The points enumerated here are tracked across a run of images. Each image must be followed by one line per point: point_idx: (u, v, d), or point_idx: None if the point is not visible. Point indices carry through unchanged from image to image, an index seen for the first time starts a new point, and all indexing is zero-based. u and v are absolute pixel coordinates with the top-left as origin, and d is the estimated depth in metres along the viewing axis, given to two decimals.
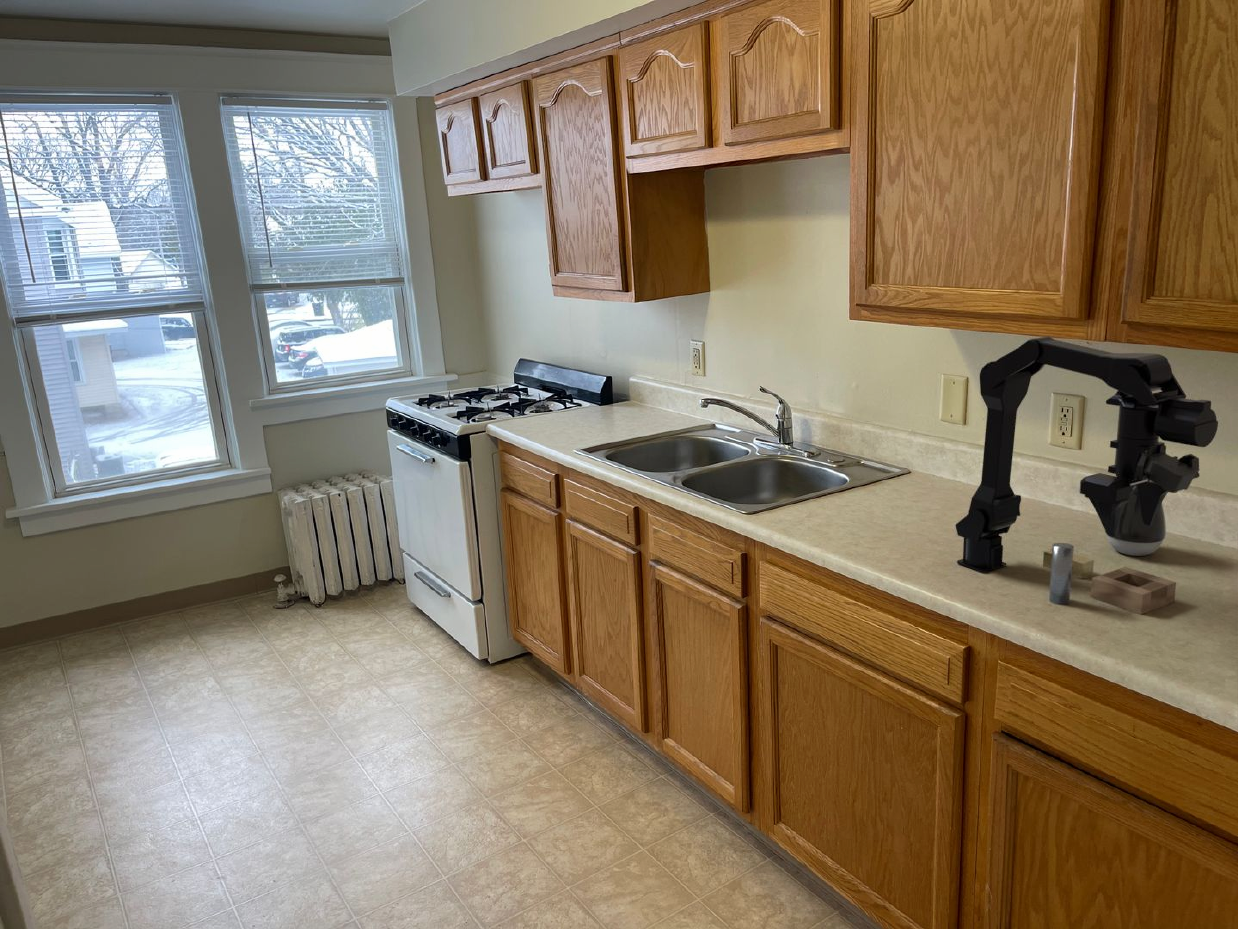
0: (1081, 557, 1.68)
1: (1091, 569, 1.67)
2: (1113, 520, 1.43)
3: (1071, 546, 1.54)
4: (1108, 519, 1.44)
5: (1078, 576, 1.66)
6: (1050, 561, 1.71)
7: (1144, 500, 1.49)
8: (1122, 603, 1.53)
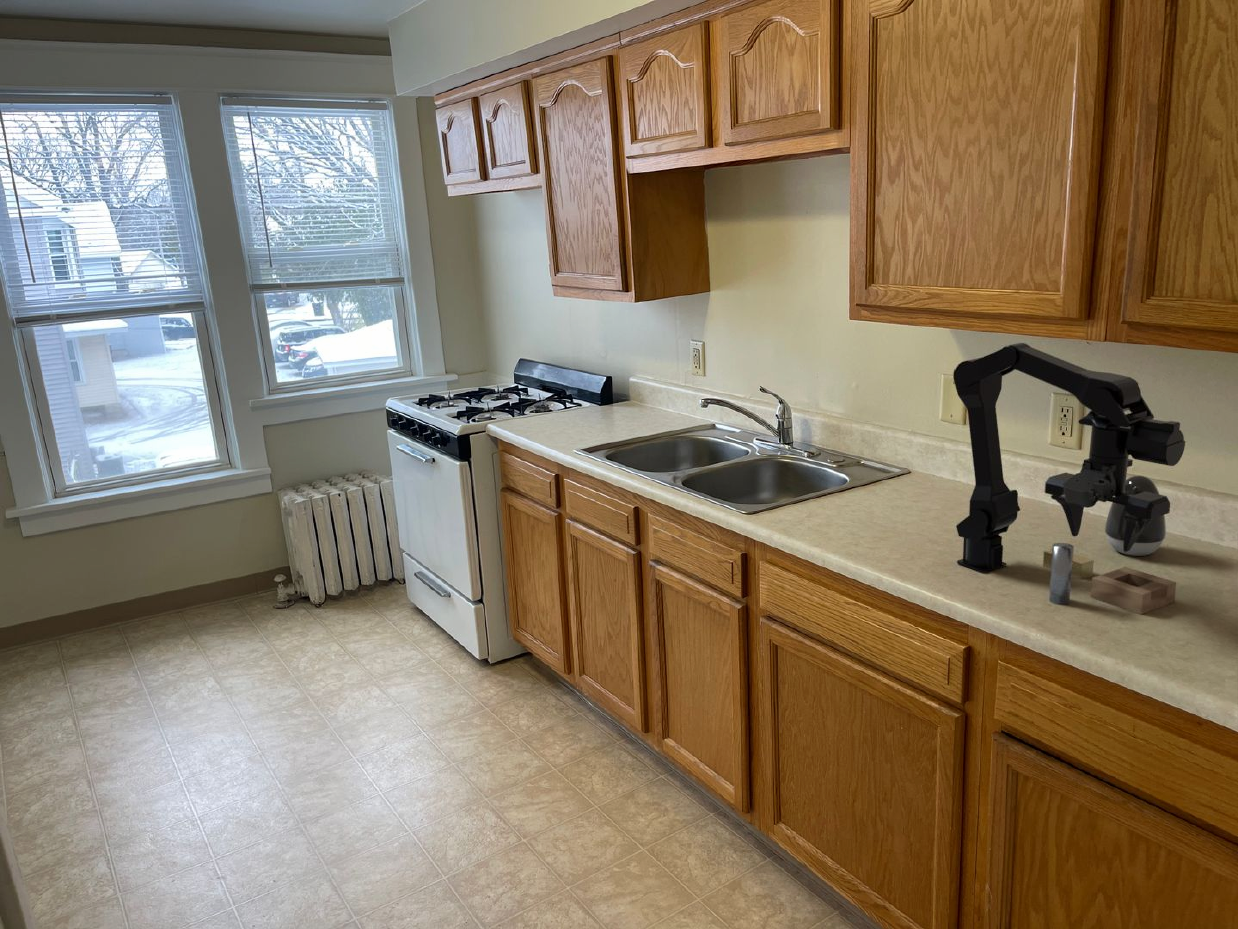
0: (1081, 557, 1.68)
1: (1091, 569, 1.67)
2: (1067, 518, 1.58)
3: (1071, 546, 1.54)
4: None
5: (1078, 576, 1.66)
6: (1050, 561, 1.71)
7: None
8: (1122, 603, 1.53)
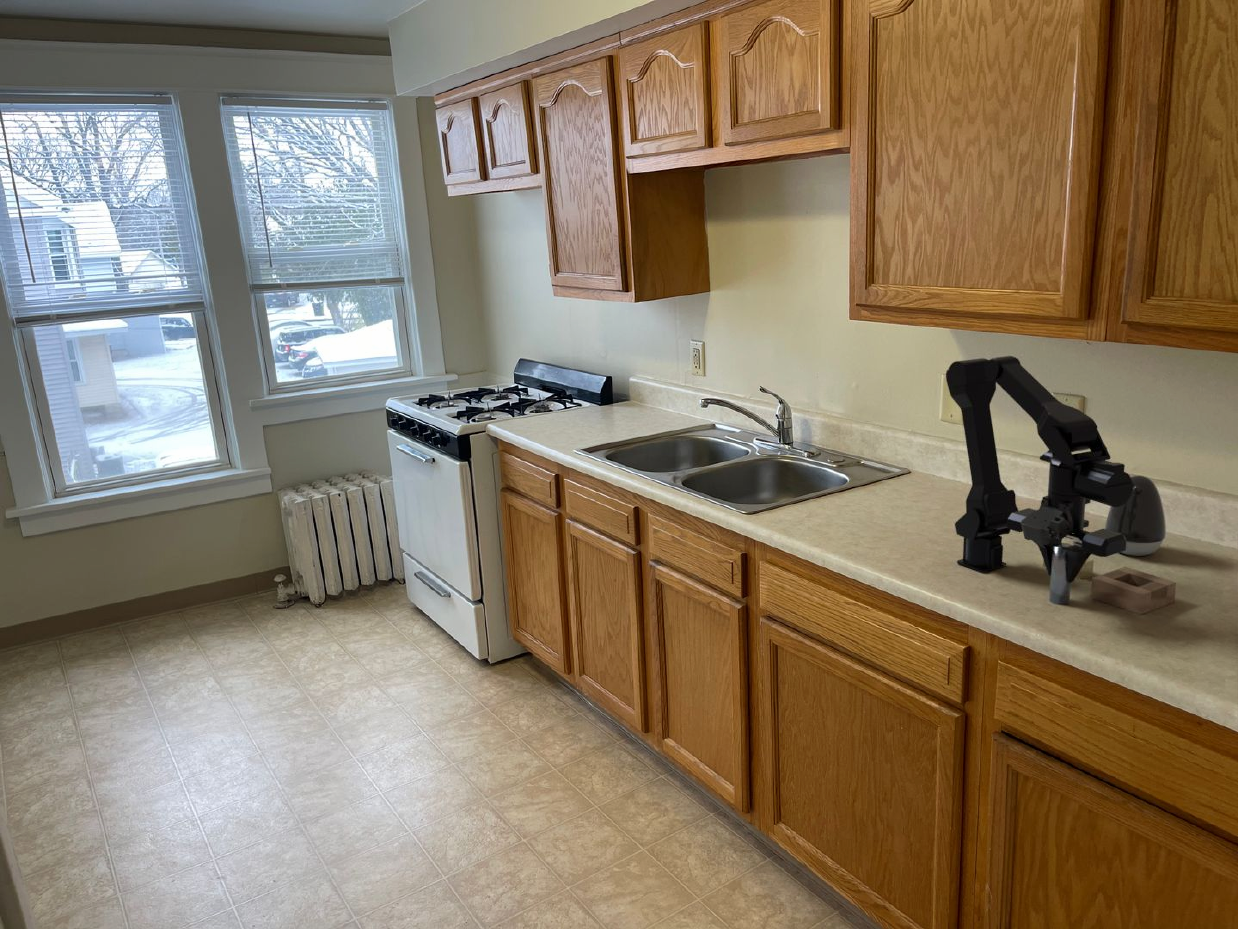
0: None
1: (1091, 569, 1.66)
2: (1043, 558, 1.57)
3: None
4: None
5: (1077, 576, 1.66)
6: None
7: None
8: (1122, 603, 1.53)
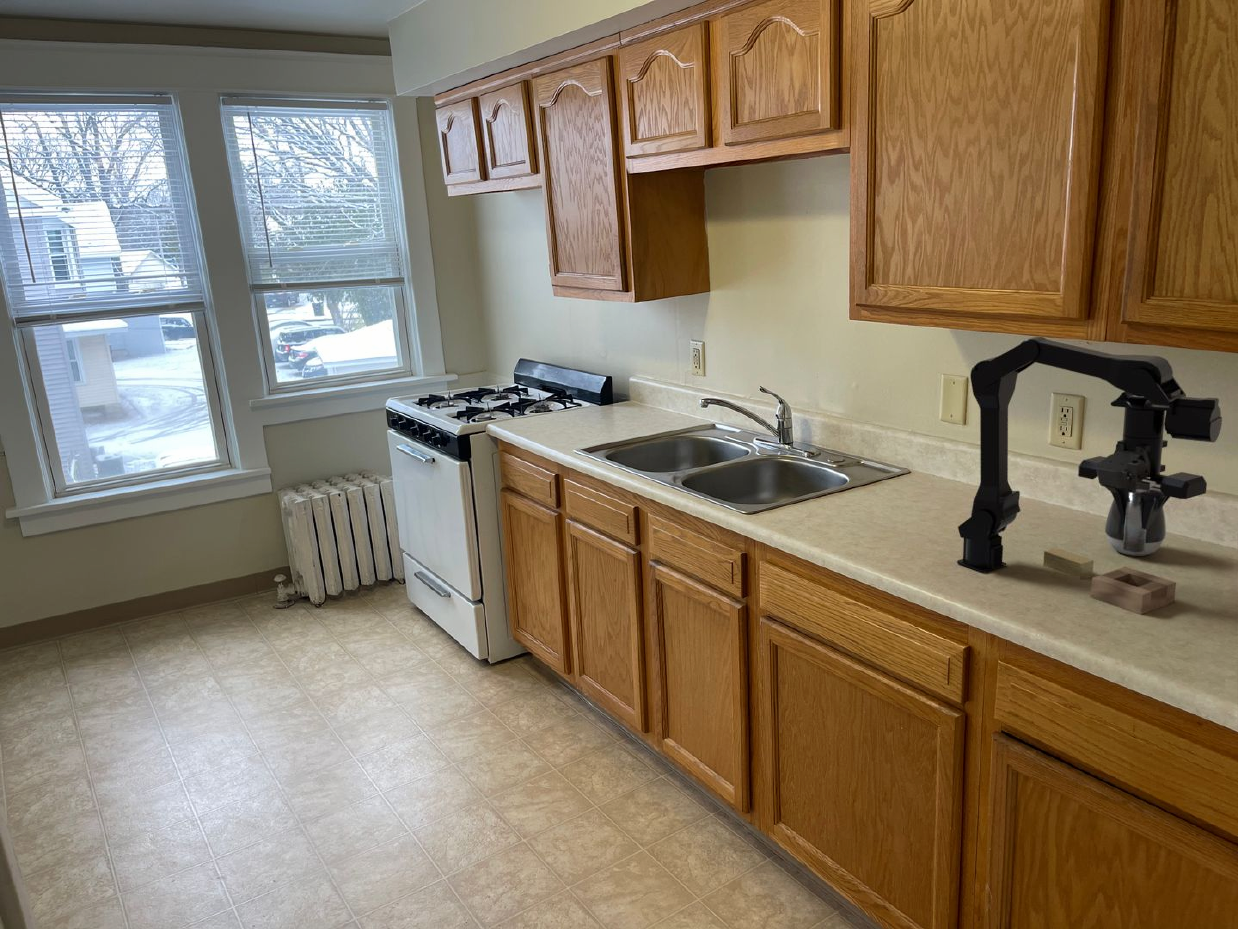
0: (1081, 557, 1.68)
1: (1090, 569, 1.66)
2: (1117, 505, 1.54)
3: None
4: None
5: (1077, 576, 1.66)
6: (1050, 561, 1.71)
7: None
8: (1122, 603, 1.53)
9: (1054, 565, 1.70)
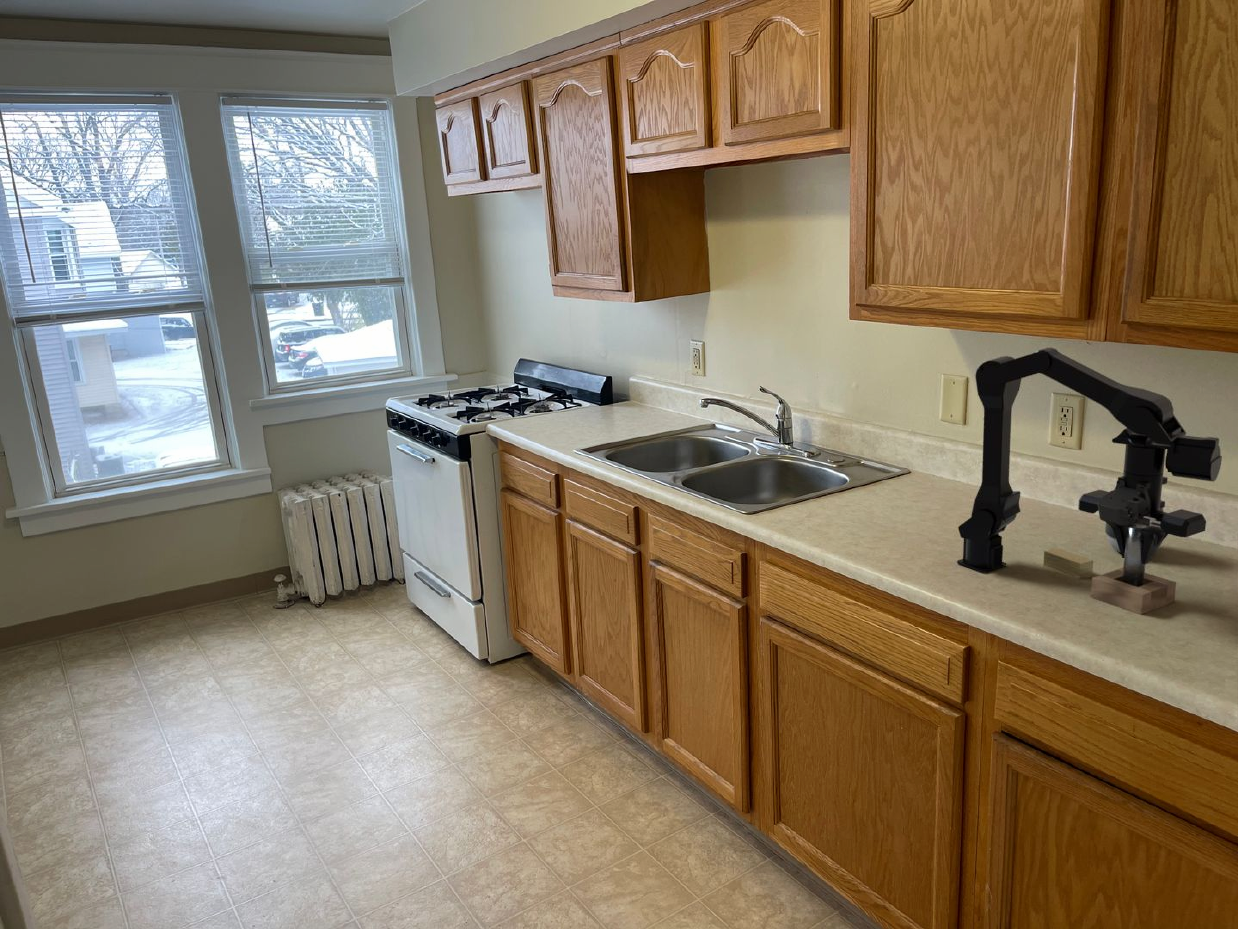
0: (1081, 557, 1.68)
1: (1090, 569, 1.66)
2: (1117, 540, 1.56)
3: None
4: None
5: (1076, 576, 1.66)
6: (1050, 561, 1.71)
7: None
8: (1122, 603, 1.53)
9: (1054, 565, 1.70)
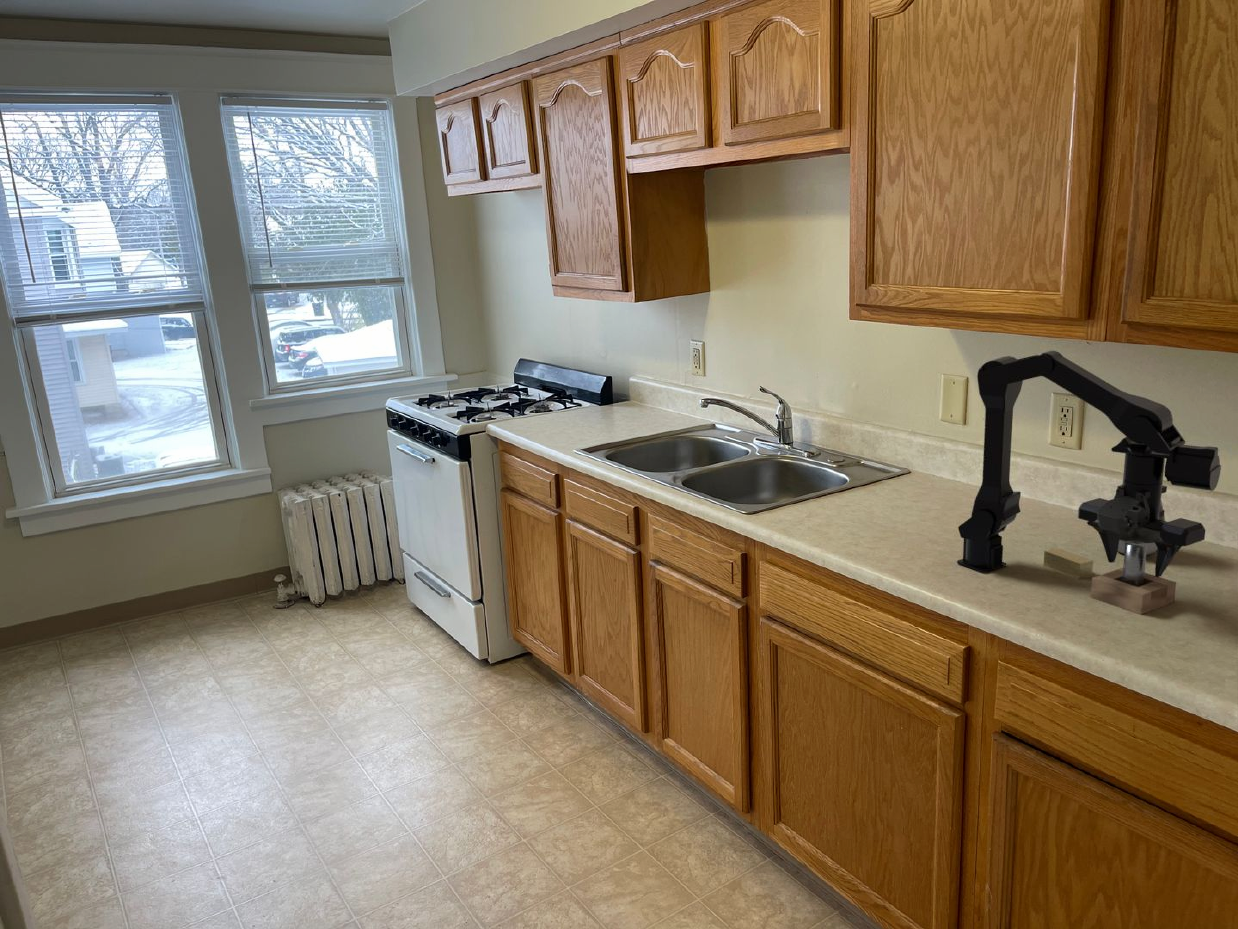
0: (1081, 557, 1.68)
1: (1090, 570, 1.66)
2: (1103, 544, 1.58)
3: (1144, 544, 1.53)
4: None
5: (1076, 576, 1.66)
6: (1050, 561, 1.71)
7: None
8: (1122, 603, 1.53)
9: (1054, 565, 1.70)
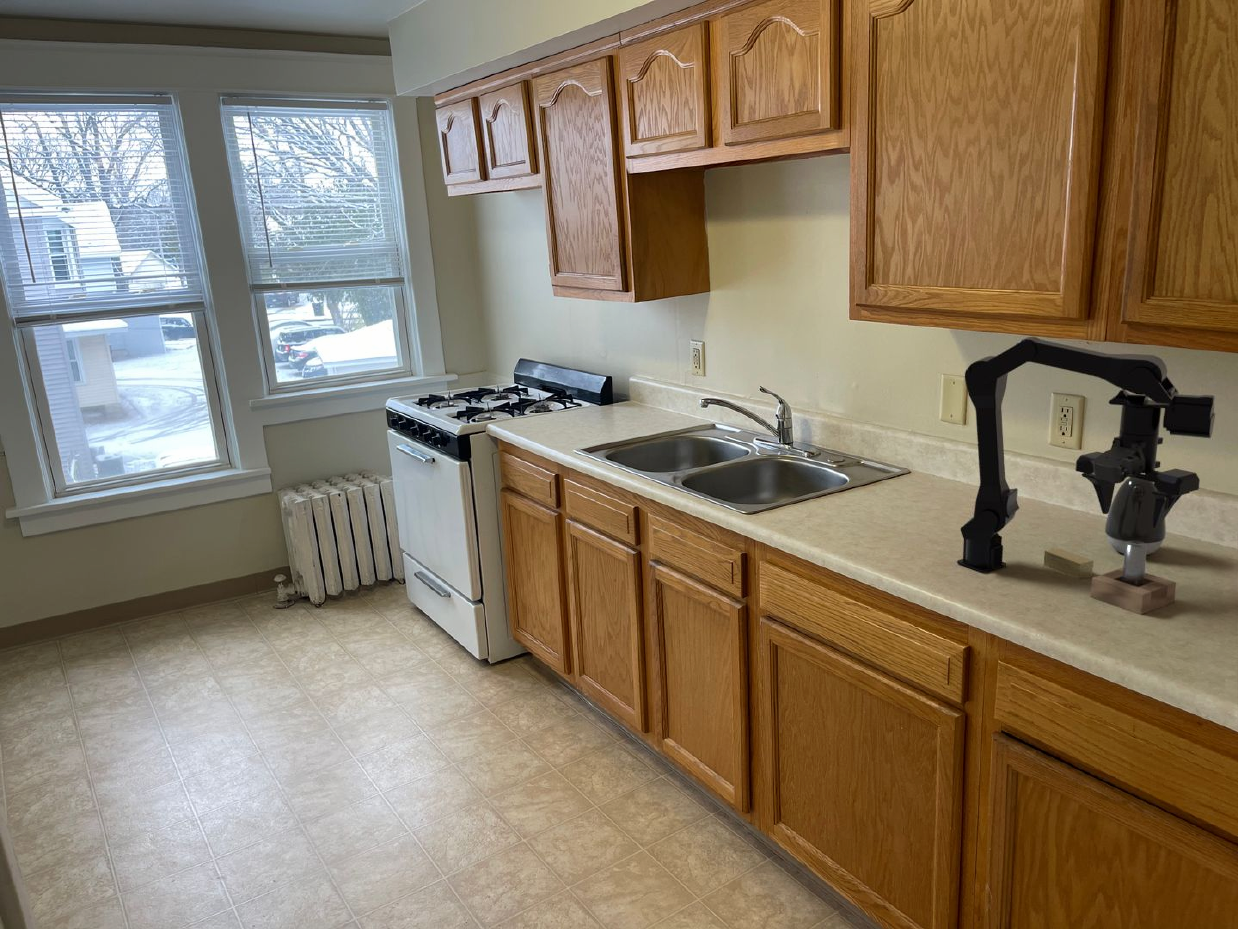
0: (1081, 557, 1.68)
1: (1090, 570, 1.66)
2: None
3: (1144, 544, 1.53)
4: None
5: (1076, 576, 1.66)
6: (1050, 560, 1.71)
7: None
8: (1122, 603, 1.53)
9: (1054, 565, 1.70)
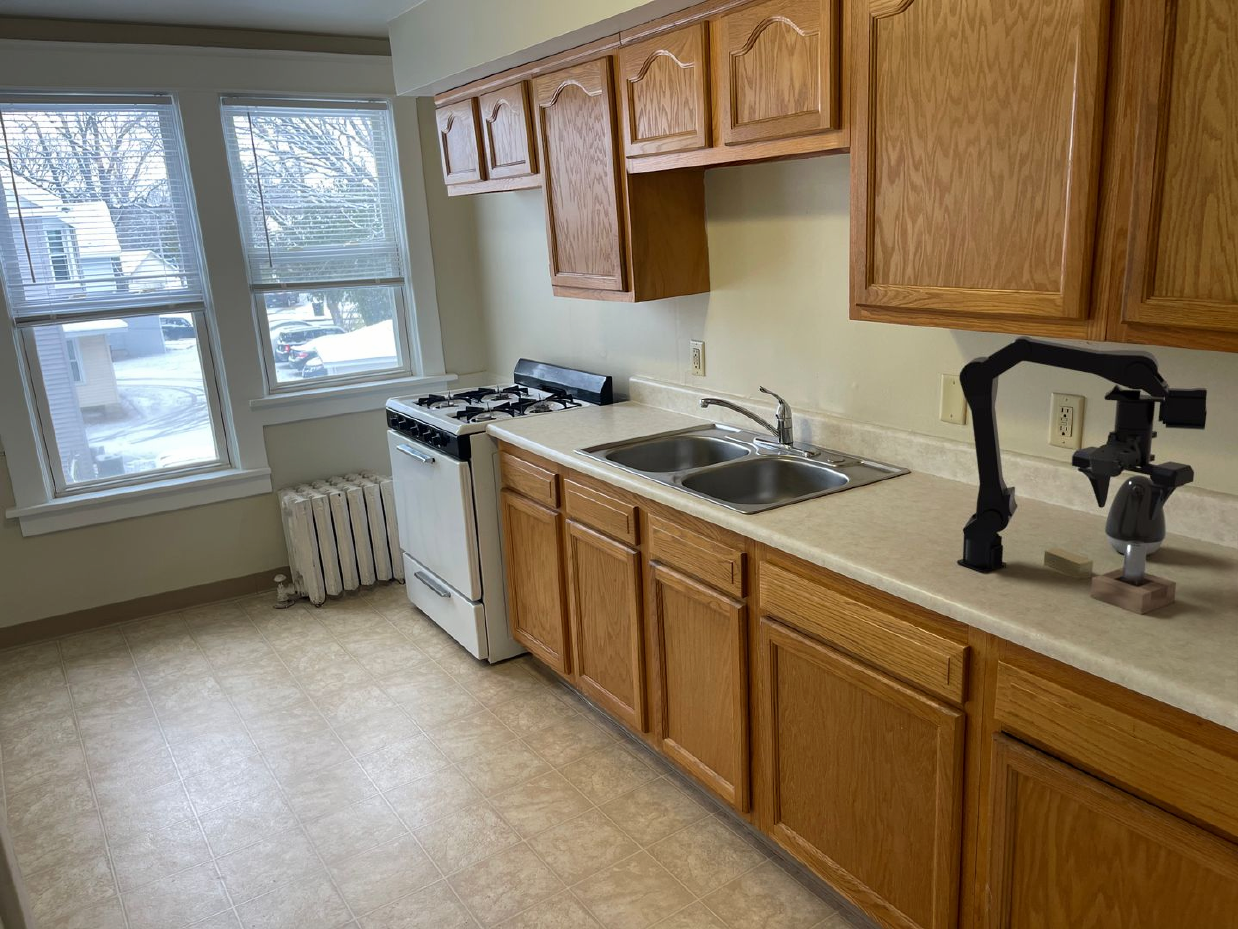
0: (1081, 557, 1.68)
1: (1090, 570, 1.66)
2: (1094, 490, 1.63)
3: (1144, 544, 1.53)
4: None
5: (1076, 576, 1.66)
6: (1050, 560, 1.71)
7: None
8: (1122, 603, 1.53)
9: (1054, 565, 1.70)
